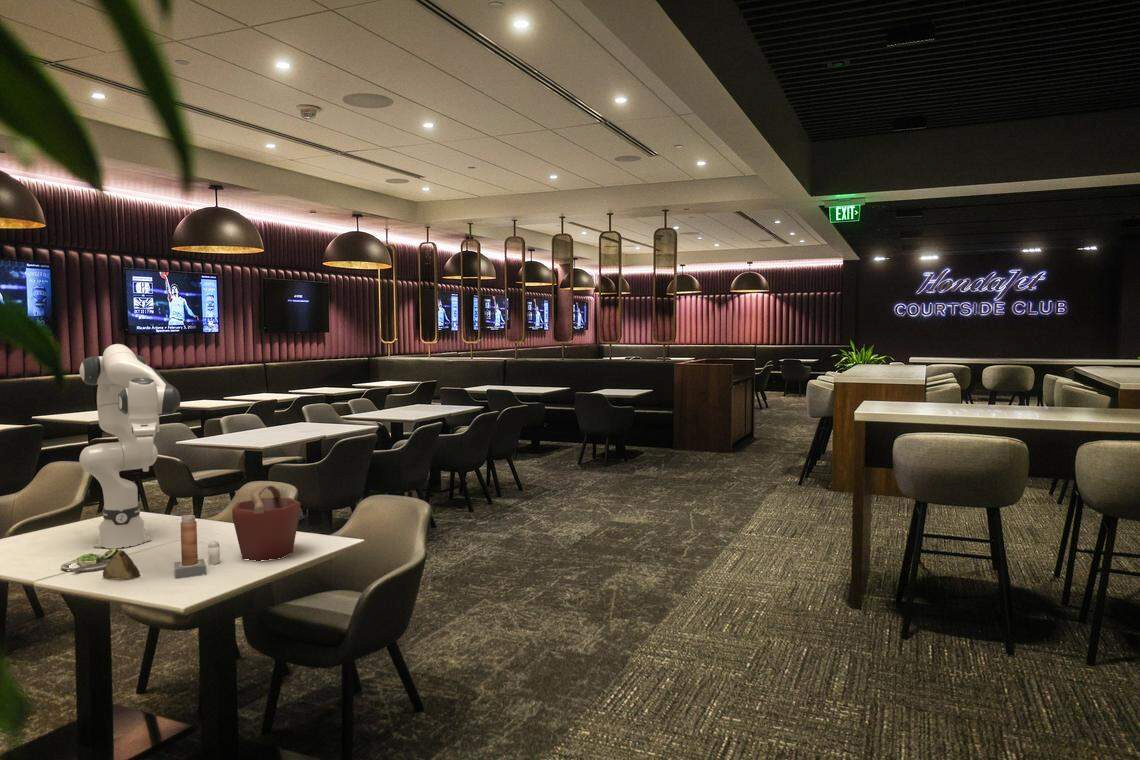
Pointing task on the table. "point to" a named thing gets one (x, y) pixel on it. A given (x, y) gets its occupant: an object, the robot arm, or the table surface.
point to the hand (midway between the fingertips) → (145, 469)
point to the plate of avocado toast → (91, 561)
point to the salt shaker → (213, 552)
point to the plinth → (189, 569)
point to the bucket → (266, 525)
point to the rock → (121, 567)
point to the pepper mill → (189, 540)
